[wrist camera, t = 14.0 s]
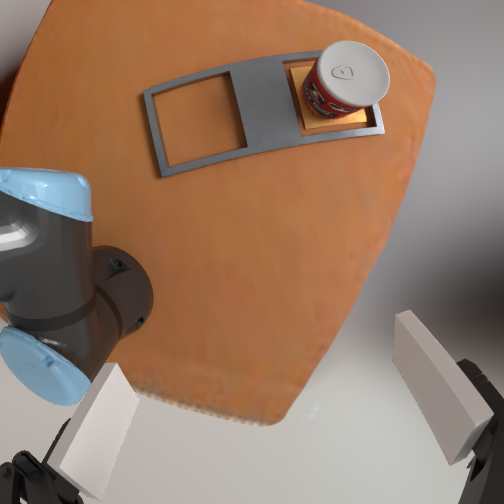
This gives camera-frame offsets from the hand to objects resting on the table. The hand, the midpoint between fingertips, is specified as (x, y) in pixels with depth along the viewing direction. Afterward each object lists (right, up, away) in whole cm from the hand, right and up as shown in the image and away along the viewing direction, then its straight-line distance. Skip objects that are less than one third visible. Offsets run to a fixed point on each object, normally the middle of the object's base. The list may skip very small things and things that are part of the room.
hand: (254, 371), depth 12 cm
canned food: (+10, +27, +21) cm, 36 cm away
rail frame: (+2, +25, +22) cm, 33 cm away
